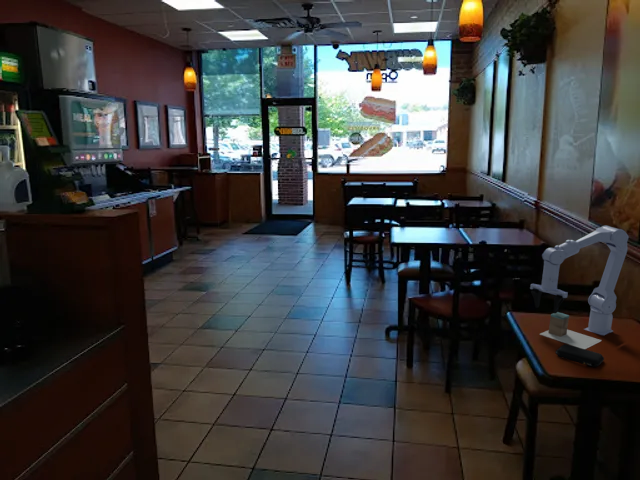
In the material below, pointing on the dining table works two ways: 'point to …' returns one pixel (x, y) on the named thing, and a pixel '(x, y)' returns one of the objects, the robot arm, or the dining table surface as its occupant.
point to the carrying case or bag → (580, 355)
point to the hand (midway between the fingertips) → (546, 310)
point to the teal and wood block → (558, 324)
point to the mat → (574, 339)
